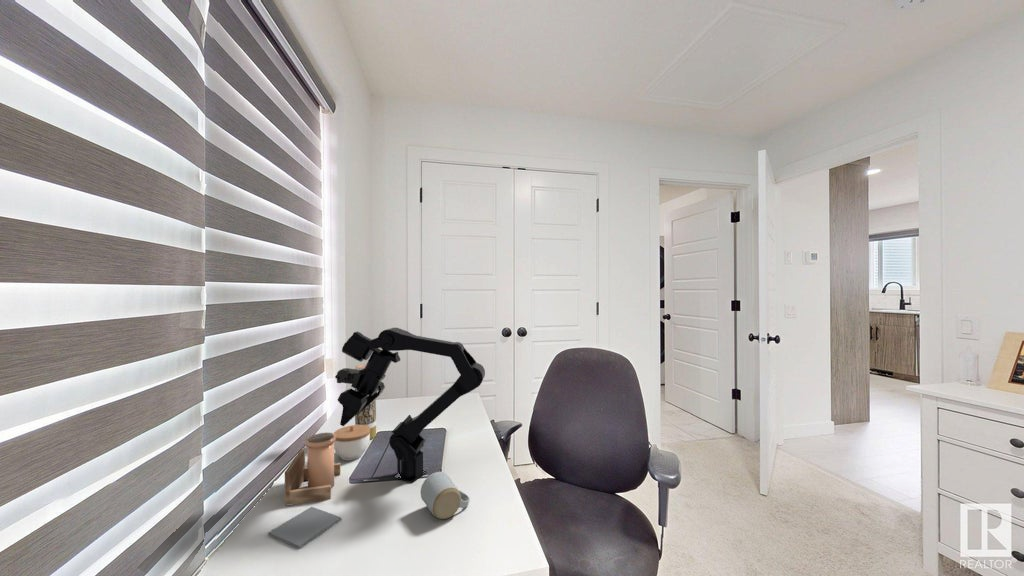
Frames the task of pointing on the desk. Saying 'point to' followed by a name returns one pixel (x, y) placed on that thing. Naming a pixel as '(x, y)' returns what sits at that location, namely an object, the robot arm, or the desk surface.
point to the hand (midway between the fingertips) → (349, 419)
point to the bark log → (367, 414)
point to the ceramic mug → (442, 495)
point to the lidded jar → (352, 441)
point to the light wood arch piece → (296, 477)
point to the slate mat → (304, 527)
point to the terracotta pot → (320, 459)
